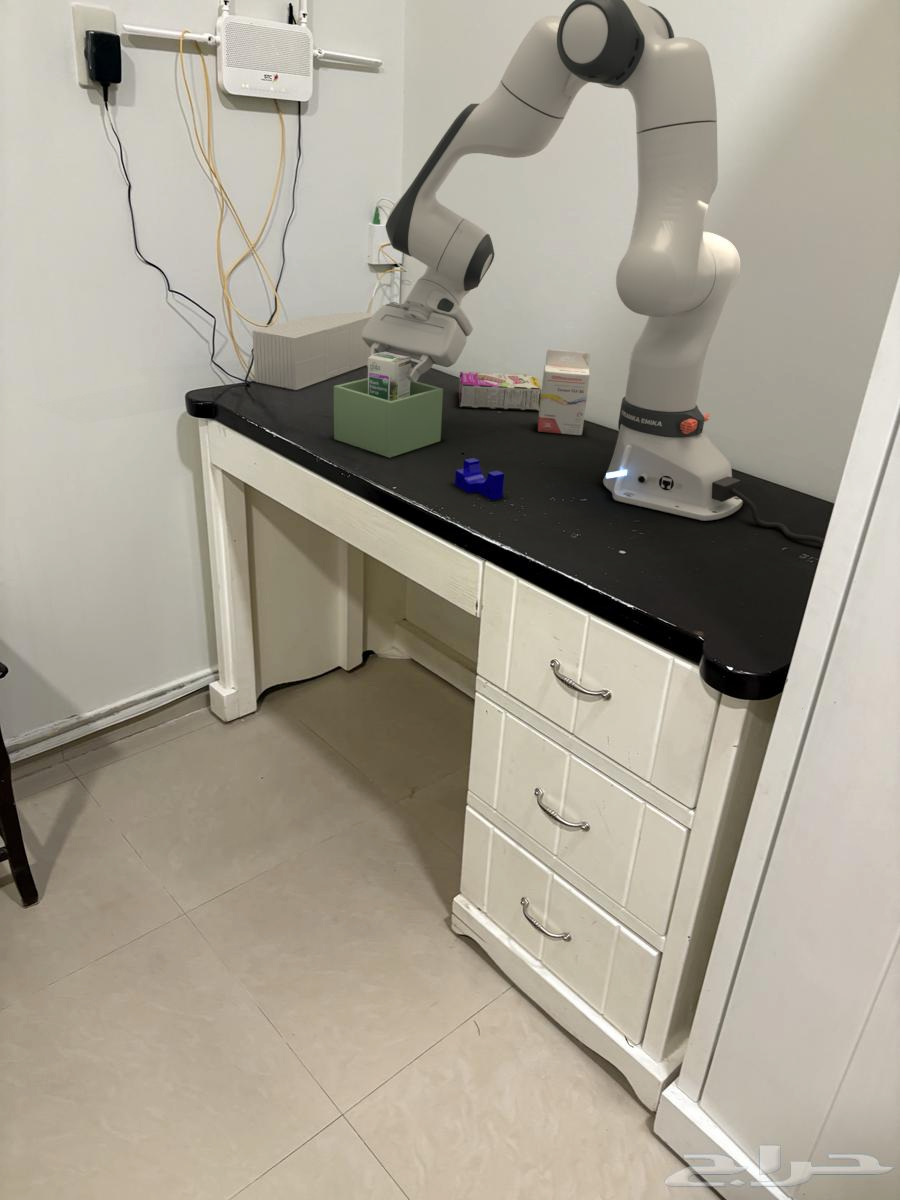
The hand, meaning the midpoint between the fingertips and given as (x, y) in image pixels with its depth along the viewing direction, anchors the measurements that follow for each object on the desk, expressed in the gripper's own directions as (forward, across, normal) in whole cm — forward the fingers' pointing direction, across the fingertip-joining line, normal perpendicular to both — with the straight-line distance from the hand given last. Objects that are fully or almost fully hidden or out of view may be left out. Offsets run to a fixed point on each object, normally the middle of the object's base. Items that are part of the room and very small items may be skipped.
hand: (390, 374), depth 162 cm
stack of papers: (-13, -38, +22) cm, 46 cm away
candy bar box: (-14, -8, +27) cm, 32 cm away
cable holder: (+14, +27, +3) cm, 31 cm away
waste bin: (+9, 0, +8) cm, 12 cm away
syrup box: (+8, 0, +8) cm, 12 cm away
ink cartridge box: (-12, +18, +29) cm, 36 cm away
